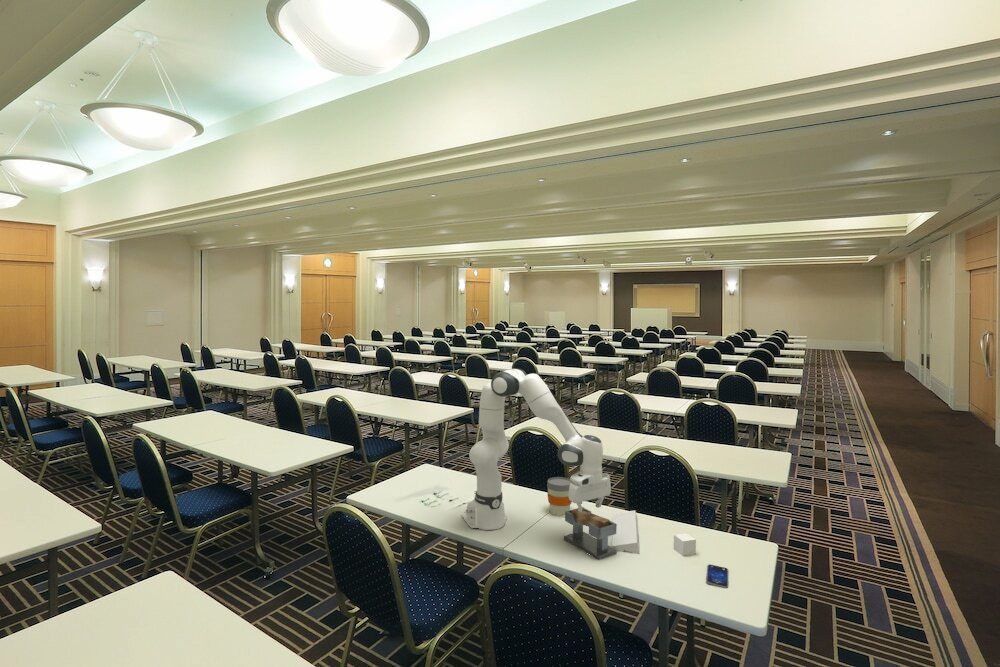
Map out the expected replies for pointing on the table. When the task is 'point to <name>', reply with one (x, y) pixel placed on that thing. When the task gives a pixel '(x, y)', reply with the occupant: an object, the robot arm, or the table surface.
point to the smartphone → (717, 576)
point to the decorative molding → (626, 532)
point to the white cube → (684, 544)
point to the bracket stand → (589, 543)
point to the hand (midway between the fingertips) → (589, 509)
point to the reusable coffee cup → (558, 495)
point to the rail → (590, 519)
